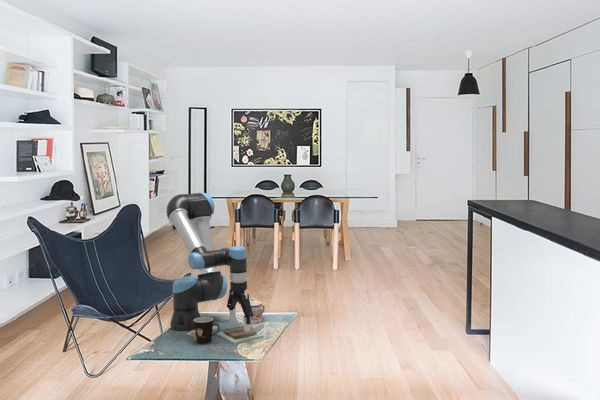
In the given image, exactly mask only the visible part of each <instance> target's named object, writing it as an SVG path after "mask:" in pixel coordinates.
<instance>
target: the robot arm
mask: <svg viewBox="0 0 600 400" xmlns="http://www.w3.org/2000/svg"><path fill="white" fill-rule="evenodd" d="M214 214H215V203H214V199H213V198H212V196H211V195H210V194H208V193H206V192H197V193H195V192H194V193H184V194H183V193H182V194H177V195H175V196H173V197H172V198H171V199H170V200H169V201H168V203H167V206H166V216H167V219H168V221H169V222H170V224H172V225H174V227H175V229H176V231H177V233H178V235H179V237H180V239H181V241H182V243H183V244H184V246H185V248H186V249H187V251H188V254H189V255H188V258H187V259H188V260H187V263H188V265H189V267H190V268H191V270H199V272H198V273H197V276H195V275H188V276H182V277H179V278H176V279H175V280H174V281H173V283H172V290H171V292H172V301H173V303H172V304H173V306H172V307H173V311H172V315H171V318H170V323H169V324H170V329H171V330H175V331H191V330H195V326H194V319H196V318H199V317H202V315H201V313H200V311H199V303H205V302H209V301H217V300H220V299H223V298H224V297H225V296H226V294H227V290H229V292H228V294H229V295H228V299H227V303H226V308H228V310H229V324H230V325H235V324H236V323H237V318H236V316H237V315H236V313H237V312H236V305H237V304H239V305H240V307H241V310H242V312H243V315H245V316H243V326H244V331H245V332H246V331H250V328H251V323H250V317H251V316H253V312H252V308H251V304H250V300H251V299H250V294H249V293H246V292H245V291H247V290H248V281H247V280H248V271H247V268H248V267H247V265H248V264H247V249H246V247H245V246H241V245H237V246H230V247H221V248H219V249H214V248H215V247H214V241H213V237H212V230H211V224H210V220H212V218H213V217H212V216H213V215H214ZM223 266H229V278H230V279H229V280H230V283H229V285H230V289H228V279H227V278H226V276H225V275H224V274H222V272H221V270H220V269H218V267H223ZM250 313H251V314H250Z"/></svg>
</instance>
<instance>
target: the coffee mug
mask: <svg viewBox="0 0 600 400" xmlns="http://www.w3.org/2000/svg"><path fill="white" fill-rule="evenodd" d="M194 326H195V329H194V330H195V331H194V333H195V338H196V343H197V344H199V345H208V344H210V343H212V340H213V339H212V338H213V336H215V335H217V333H220V332H219V331H220V330H221V327H220V325H219V324H218V323H214V318H213V317H211V316H201V317H199V318H196V319H194ZM214 326H217V328H218V330H216V332H214V333H213V330H214V329H213V327H214Z"/></svg>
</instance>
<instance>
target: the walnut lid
mask: <svg viewBox="0 0 600 400" xmlns="http://www.w3.org/2000/svg"><path fill="white" fill-rule="evenodd" d="M223 332H224V334H225V335H227V336H229V337H231V338H233V339H235V340H237V339H241V338H245V337H250V336H254V335H257V332H258V331H257V330H255V329H253V328H251V327H250V331H246V332H245V331H244V325H241V326H237V327H232V328H228V329H224V330H223Z"/></svg>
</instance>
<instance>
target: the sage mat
mask: <svg viewBox="0 0 600 400" xmlns="http://www.w3.org/2000/svg"><path fill="white" fill-rule="evenodd" d="M216 335H217V336H218V337H220V338H221V339H224V340H225V341H227V342H229V343H230V344H233V345H238V344H241V343H247V342H250V341H253V340H258V339H259V340H260V339H263V338H264V337H265V336H264V334H262V333H260V332H258V331H257V335H254V336H250V337H245V338H241V339H237V340H235V339H233V338H231V337H229V336H227V335H225V334H224V331H220V332H218V333H216Z"/></svg>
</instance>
